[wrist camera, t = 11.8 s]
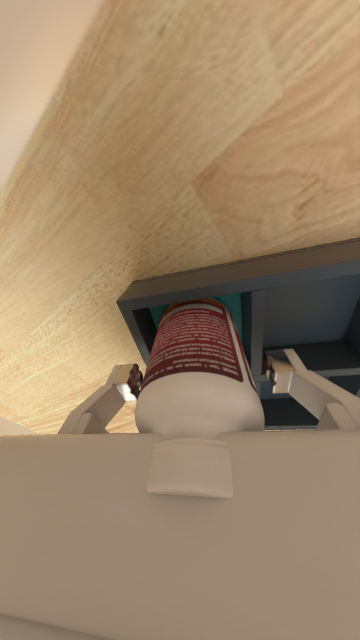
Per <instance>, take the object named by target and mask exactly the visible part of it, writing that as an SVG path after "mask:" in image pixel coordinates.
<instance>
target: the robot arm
mask: <svg viewBox="0 0 360 640" xmlns="http://www.w3.org/2000/svg"><path fill="white" fill-rule="evenodd" d="M263 357H264V359H265V360H264V361H263V370H264V373H265V376H266V377H267V378H268V379H269V386H270V388H271V391H272V393H273V394H274V393H289V394H290V395H291V396H292V397H293V398H294V399H296V400H297V401H298V402H299V403H300V404H301V405H302V406H304V407H305V408H306V409H307V410H308V411H309V412H310V413H312V414H313V415H314V416H315V417H316V418H317V419H318V420H319V422H318V425H317V427H316V429H315V430H289V431H228V432H221V433H219V434H218V435H217V436H216V439H215V440H217V441H222V442H226V443H227V446H226V449H228V450H229V451H230V458H231V471H232V481H233V496H232V497H231V498H228V499H223V498H211V497H197V496H183V495H166V494H151V493H148V492H147V489H146V487H147V481H148V476H149V471H150V466H151V462H152V456H153V450H154V448H155V447H154V444H155V443H158V442H161V441H164V440H165V437H164V436H163V435H162V434H161V433H109V432H108V431H107V430H106V429H105V427H106V426H107V424H108V423H109V422H110V421H111V420H112V418H113V417H114V416H115V415H116V414H117V412H118V411H119V410H120V409H121V407H122V406H123V405H124V404H125V402H129V401H137V400H138V397H139V393H140V390H139V388H140V387H141V386H142V382H143V375H142V372H141V371H139V370H138V369H139V366H138V365H137V364H127V365H116V366H115V367H114V368H113V370H112V372H111V374H110V376H109V378H108V380H107V382H106V384H105V385H104V386H102V387H100V388H99V389H98V390H97V391H96V392H94V393H93V394H92V395H91V396H90V397H89V398H87V399H86V400H85V401H84V402H83V403H81V404H80V405H79V406H78V407H77V408H76V409H74V410H73V411H72V412H71V413H70V414H69V416H68V418H67V419H66V421H65V422H64V424H63V426H62V427H61V429H60V431H59V432H58V434H44V435H3V436H0V640H360V398H358V397H356V396H355V395H353V394H351V393H349V392H348V391H346V390H344V389H342V388H341V387H339V386H337V385H336V384H334V383H332V382H330V381H329V380H327V379H325V378H323V377H322V376H320V375H318V374H316V373H315V372H313V371H311V370H307V369H306V367H305V366H304V364H303V363H302V361H301V360H300V358H299V357H298V355H297V354H296V352H295V351H294V350H293V349H292V348H291V349H282V350H272V351H264V353H263Z"/></svg>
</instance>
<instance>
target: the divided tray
mask: <svg viewBox="0 0 360 640" xmlns="http://www.w3.org/2000/svg"><path fill="white" fill-rule="evenodd" d="M210 297H212V298H214V299H217V300H218V301H220V302H221V303H223V304H224V305H225V306H226V307H227V308H228V309H229V311H230V312H231V314H232V316H233V318H234V321H235V324H236V327H237V330H238V334H239V337H240V340H241V343H242V346H243V349H244V352H245V355H246V358H247V362H248V365H249V368H250V371H251V374H252V377H253V380H254V383H255V386H256V389H257V392H258V395H259V398H260V402H261V405H262V408H263V412H264V418H265V423H264V430H295V429H316V427H317V425H318V422H319V420H318V419H317V418H316V417H315V416H314V415H313V414H312V413H310V412H309V411H308V410H307V409H306V408H305V407H304V406H302V405H301V404H300V403H299V402H298V401H297V400H296V399H294V398H293V397H292V396H291V395H290V394H289V393H274V394H273V393H272V391H271V388H270V386H269V379H268V378H267V377H266V376H265V373H264V370H263V361H264V360H265V359H264V357H263V353H264V351H272V350H282V349H291V348H292V349H293V350H294V351H295V352H296V354H297V355H298V357H299V358H300V360H301V361H302V363H303V364H304V366H305V367H306V369H307V370H311V371H313V372H315V373H316V374H318V375H320V376H322V377H323V378H325V379H327V380H329V381H330V382H332V383H334V384H336V385H337V386H339V387H341V388H342V389H344V390H346V391H348V392H349V393H351V394H353V395H355V396H356V397H358V398H360V238H356V239H350V240H345V241H340V242H335V243H330V244H324V245H319V246H314V247H309V248H304V249H298V250H293V251H288V252H283V253H278V254H272V255H267V256H262V257H257V258H251V259H246V260H241V261H236V262H231V263H225V264H220V265H215V266H210V267H205V268H199V269H194V270H189V271H184V272H179V273H173V274H168V275H163V276H158V277H153V278H147V279H142V280H137V281H133V282H132V283H131V284H130V286H129V287H128V288H127V289H126V290H125V292H124V293H123V294H122V295H121V296H120V298H119V299H118V300H117V301H116V302H117V305H118V307H119V309H120V311H121V312H122V315H123V317H124V319H125V321H126V324H127V326H128V328H129V330H130V332H131V334H132V336H133V338H134V341H135V343H136V345H137V347H138V349H139V351H140V353H141V356H142V358H143V360H144V362H145V364H146V366H147V365H148V362H149V358H150V355H151V351H152V348H153V344H154V341H155V338H156V334H157V331H158V327H159V324H160V321H161V318H162V315H163V313H164V311H165V310H166V309H167V307H168V306H169V305H170V304H173V303H179V302H185V301H191V300H198V299H204V298H210Z"/></svg>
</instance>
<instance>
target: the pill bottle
mask: <svg viewBox="0 0 360 640" xmlns="http://www.w3.org/2000/svg"><path fill="white" fill-rule="evenodd" d="M135 421H136V425H137V428H138V430H139V433H161V434H162V435H163V436H164V437H165V440H164V441H161V442H158V443H155V444H154V447H155V448H154V450H153V456H152V462H151V466H150V471H149V476H148V481H147V487H146V489H147V492H148V493H151V494H166V495H183V496H197V497H211V498H223V499H228V498H231V497H232V496H233V481H232V471H231V458H230V451H229V450H228V449H226V446H227V443H226V442H222V441H217V440H215V439H216V436H217V435H218V434H219V433H221V432H228V431H263V430H264V423H265V418H264V412H263V408H262V405H261V402H260V398H259V395H258V392H257V389H256V386H255V383H254V380H253V377H252V374H251V371H250V368H249V365H248V362H247V358H246V355H245V352H244V349H243V346H242V343H241V340H240V337H239V334H238V330H237V327H236V324H235V321H234V318H233V316H232V314H231V312H230V311H229V309H228V308H227V307H226V306H225V305H224V304H223V303H221V302H220V301H218V300H217V299H214V298H212V297H210V298H204V299H198V300H191V301H185V302H179V303H173V304H170V305H169V306H168V307H167V309H166V310H165V311H164V313H163V315H162V318H161V321H160V324H159V327H158V331H157V334H156V338H155V341H154V344H153V348H152V351H151V355H150V358H149V362H148V365H147V369H146V372H145V376H144V379H143V382H142V386H141V389H140V393H139V397H138V400H137V404H136V408H135Z"/></svg>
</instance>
